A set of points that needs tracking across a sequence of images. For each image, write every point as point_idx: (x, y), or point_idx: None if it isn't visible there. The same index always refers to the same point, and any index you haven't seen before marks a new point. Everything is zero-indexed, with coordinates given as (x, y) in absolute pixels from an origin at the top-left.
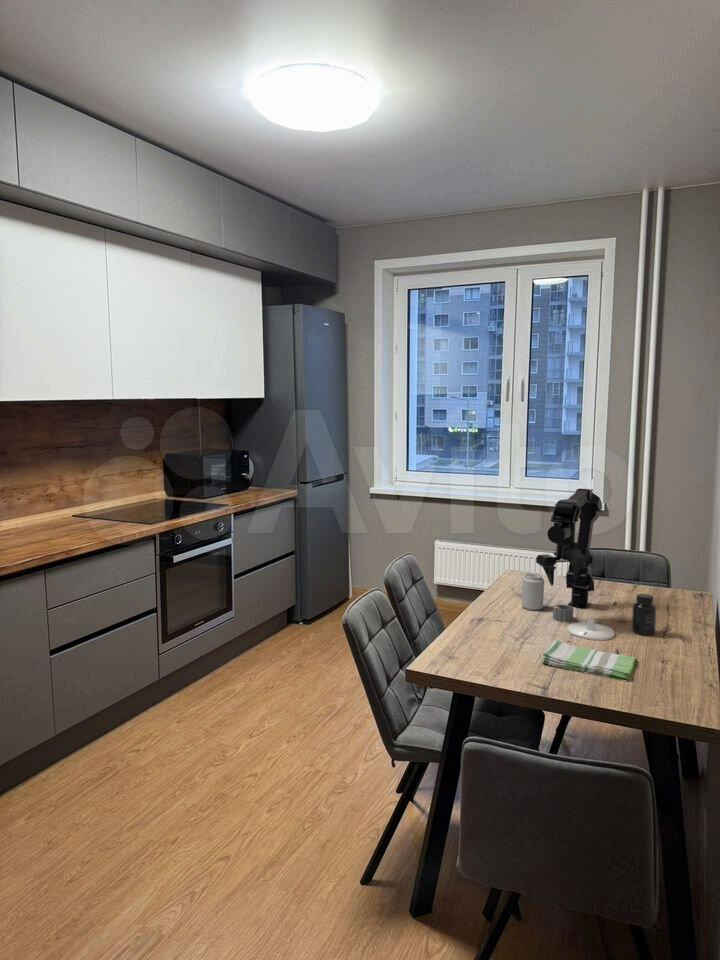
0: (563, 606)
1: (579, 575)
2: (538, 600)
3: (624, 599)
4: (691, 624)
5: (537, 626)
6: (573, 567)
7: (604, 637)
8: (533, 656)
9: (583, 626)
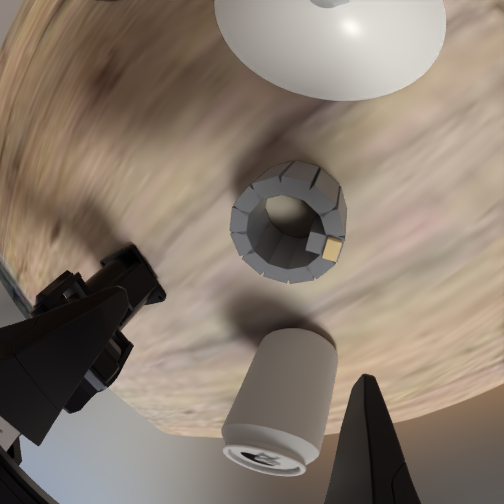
0: (259, 251)
1: (54, 316)
2: (301, 356)
3: (36, 241)
4: (15, 41)
5: (485, 203)
6: (57, 408)
7: None
8: None
9: (328, 39)
